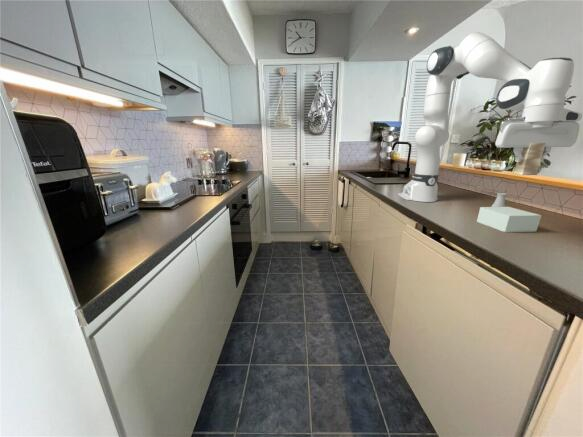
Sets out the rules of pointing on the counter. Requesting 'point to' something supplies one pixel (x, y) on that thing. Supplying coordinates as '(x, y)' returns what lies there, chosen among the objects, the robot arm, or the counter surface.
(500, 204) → the flask
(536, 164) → the birch block
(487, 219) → the sage step
